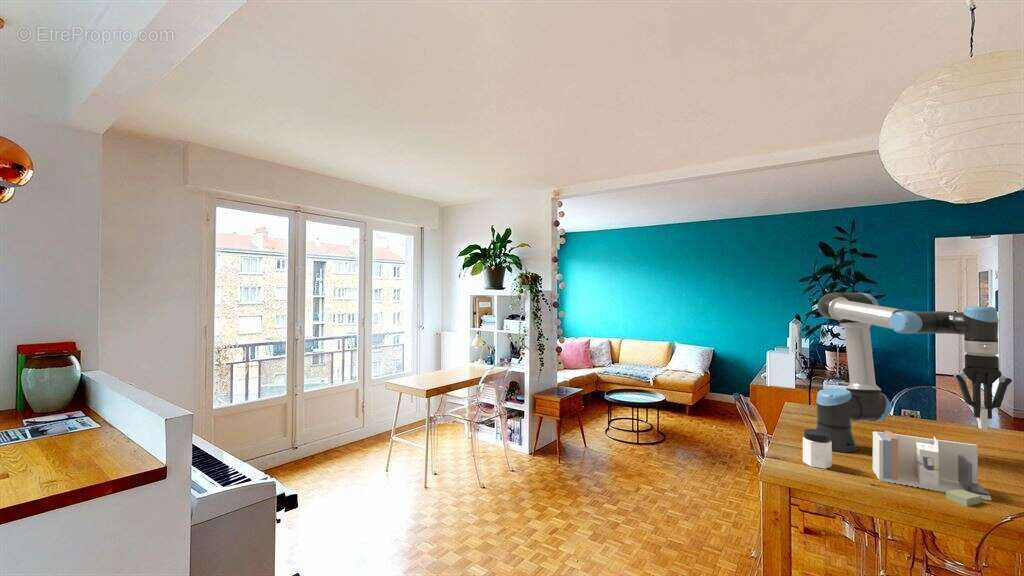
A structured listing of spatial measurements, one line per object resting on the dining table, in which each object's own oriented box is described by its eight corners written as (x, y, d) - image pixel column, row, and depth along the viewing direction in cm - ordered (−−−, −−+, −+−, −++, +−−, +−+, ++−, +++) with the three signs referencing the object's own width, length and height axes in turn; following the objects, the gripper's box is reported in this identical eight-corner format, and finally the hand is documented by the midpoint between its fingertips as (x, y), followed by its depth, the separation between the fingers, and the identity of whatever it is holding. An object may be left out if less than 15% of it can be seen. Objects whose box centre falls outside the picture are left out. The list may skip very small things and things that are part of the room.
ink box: (915, 475, 152) (915, 432, 152) (935, 479, 149) (935, 435, 149) (918, 483, 145) (918, 439, 145) (939, 488, 142) (939, 442, 142)
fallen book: (966, 507, 132) (966, 499, 132) (946, 499, 137) (946, 491, 137) (980, 503, 134) (980, 495, 134) (960, 496, 139) (960, 488, 139)
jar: (803, 465, 162) (803, 433, 162) (801, 458, 169) (801, 427, 169) (833, 470, 158) (833, 437, 158) (830, 462, 165) (830, 431, 165)
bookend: (967, 491, 139) (967, 463, 139) (958, 481, 146) (958, 455, 146) (989, 495, 136) (989, 466, 136) (979, 485, 143) (979, 458, 143)
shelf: (879, 480, 149) (879, 437, 149) (872, 469, 159) (872, 428, 159) (991, 500, 136) (991, 452, 136) (976, 486, 145) (976, 441, 145)
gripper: (957, 354, 140) (958, 428, 140) (1016, 357, 133) (1018, 434, 133) (949, 351, 147) (951, 422, 146) (1005, 354, 140) (1007, 428, 139)
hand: (983, 428), depth 139 cm, fingers closed
